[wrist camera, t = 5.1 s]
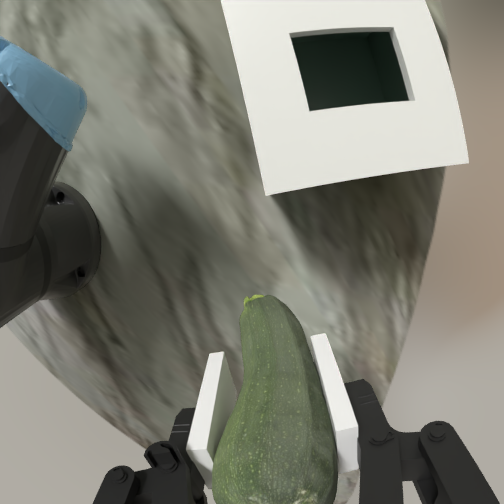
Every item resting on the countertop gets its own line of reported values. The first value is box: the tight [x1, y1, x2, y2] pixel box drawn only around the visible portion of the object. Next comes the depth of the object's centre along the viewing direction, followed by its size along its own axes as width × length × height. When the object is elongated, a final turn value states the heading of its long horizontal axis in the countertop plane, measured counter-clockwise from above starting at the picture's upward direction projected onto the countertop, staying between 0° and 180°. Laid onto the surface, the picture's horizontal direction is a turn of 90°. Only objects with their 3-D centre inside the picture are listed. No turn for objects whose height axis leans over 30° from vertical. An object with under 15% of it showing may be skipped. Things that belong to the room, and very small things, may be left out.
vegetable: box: [212, 295, 338, 504], centre depth 13 cm, size 4×4×20 cm
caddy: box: [221, 0, 469, 196], centre depth 25 cm, size 16×16×14 cm
